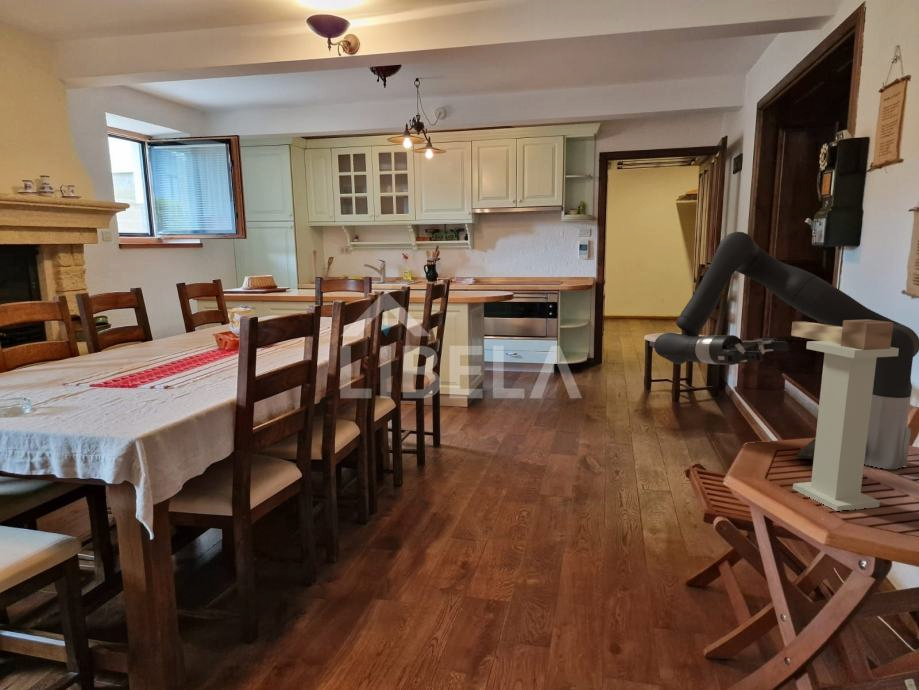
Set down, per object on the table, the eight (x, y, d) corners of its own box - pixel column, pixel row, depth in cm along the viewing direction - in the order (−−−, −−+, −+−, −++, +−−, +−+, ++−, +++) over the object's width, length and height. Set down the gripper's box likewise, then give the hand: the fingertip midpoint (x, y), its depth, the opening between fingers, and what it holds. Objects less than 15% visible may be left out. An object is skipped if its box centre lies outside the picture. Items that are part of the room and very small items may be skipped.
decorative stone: (823, 470, 130) (825, 453, 129) (793, 463, 135) (795, 446, 134) (846, 453, 141) (848, 437, 140) (818, 446, 146) (819, 431, 145)
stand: (792, 488, 119) (807, 341, 114) (832, 484, 121) (847, 339, 116) (836, 511, 109) (854, 350, 103) (879, 506, 111) (898, 348, 106)
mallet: (785, 335, 122) (787, 313, 121) (808, 334, 123) (810, 312, 123) (863, 350, 104) (866, 323, 103) (890, 348, 105) (893, 322, 104)
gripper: (695, 343, 141) (749, 343, 126) (735, 328, 146) (792, 327, 131) (701, 371, 142) (755, 375, 127) (741, 356, 147) (798, 358, 132)
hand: (774, 351), depth 129 cm, fingers open, 8 cm apart
